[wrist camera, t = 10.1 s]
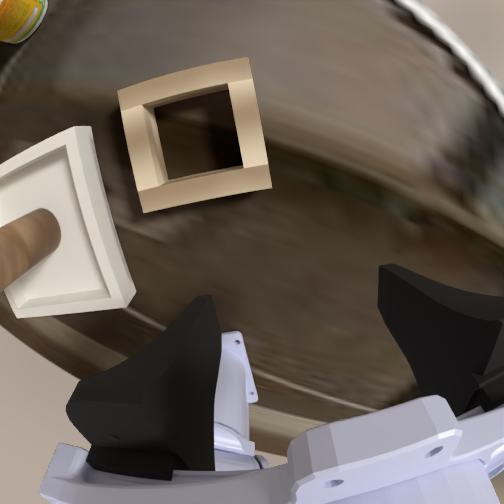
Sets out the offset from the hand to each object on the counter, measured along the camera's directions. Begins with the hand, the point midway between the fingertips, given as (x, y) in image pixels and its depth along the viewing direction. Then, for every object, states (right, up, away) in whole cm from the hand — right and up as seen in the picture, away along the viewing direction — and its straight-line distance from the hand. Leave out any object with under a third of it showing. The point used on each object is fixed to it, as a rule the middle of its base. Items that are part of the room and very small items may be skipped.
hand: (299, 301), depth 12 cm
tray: (-20, +4, +9) cm, 22 cm away
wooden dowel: (-20, +4, +9) cm, 22 cm away
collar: (-6, +10, +7) cm, 14 cm away
